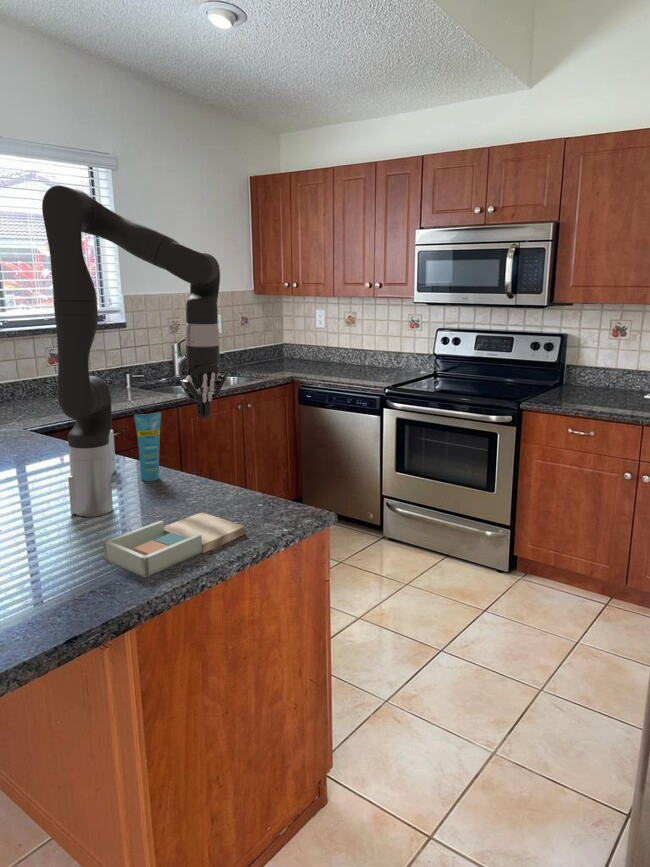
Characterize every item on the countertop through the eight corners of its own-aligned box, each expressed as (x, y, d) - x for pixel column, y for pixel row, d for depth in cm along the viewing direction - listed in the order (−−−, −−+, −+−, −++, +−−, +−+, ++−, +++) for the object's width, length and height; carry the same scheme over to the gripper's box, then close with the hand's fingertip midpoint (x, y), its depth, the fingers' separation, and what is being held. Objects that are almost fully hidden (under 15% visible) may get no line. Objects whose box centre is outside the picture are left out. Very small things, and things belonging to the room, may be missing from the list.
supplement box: (91, 470, 191) (88, 429, 188) (116, 470, 192) (114, 429, 188) (84, 478, 184) (81, 435, 181) (110, 478, 184) (108, 435, 181)
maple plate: (203, 553, 137) (203, 544, 136) (159, 536, 145) (159, 528, 144) (245, 534, 147) (245, 526, 147) (202, 519, 155) (202, 512, 155)
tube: (140, 483, 181) (137, 416, 176) (134, 478, 184) (131, 413, 180) (165, 479, 185) (163, 413, 180) (160, 474, 188) (157, 410, 184)
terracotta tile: (150, 563, 131) (150, 554, 130) (134, 556, 133) (133, 548, 133) (169, 554, 135) (168, 545, 134) (152, 548, 137) (152, 540, 137)
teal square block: (170, 554, 135) (170, 545, 134) (154, 548, 137) (153, 539, 137) (187, 546, 139) (187, 537, 138) (171, 540, 141) (171, 532, 141)
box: (145, 577, 125) (144, 558, 124) (104, 559, 133) (103, 541, 132) (201, 552, 137) (201, 535, 136) (161, 537, 145) (160, 520, 144)
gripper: (192, 346, 140) (193, 424, 144) (234, 342, 150) (235, 415, 154) (169, 344, 144) (171, 419, 148) (212, 340, 154) (213, 410, 159)
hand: (204, 417), depth 151 cm, fingers closed
